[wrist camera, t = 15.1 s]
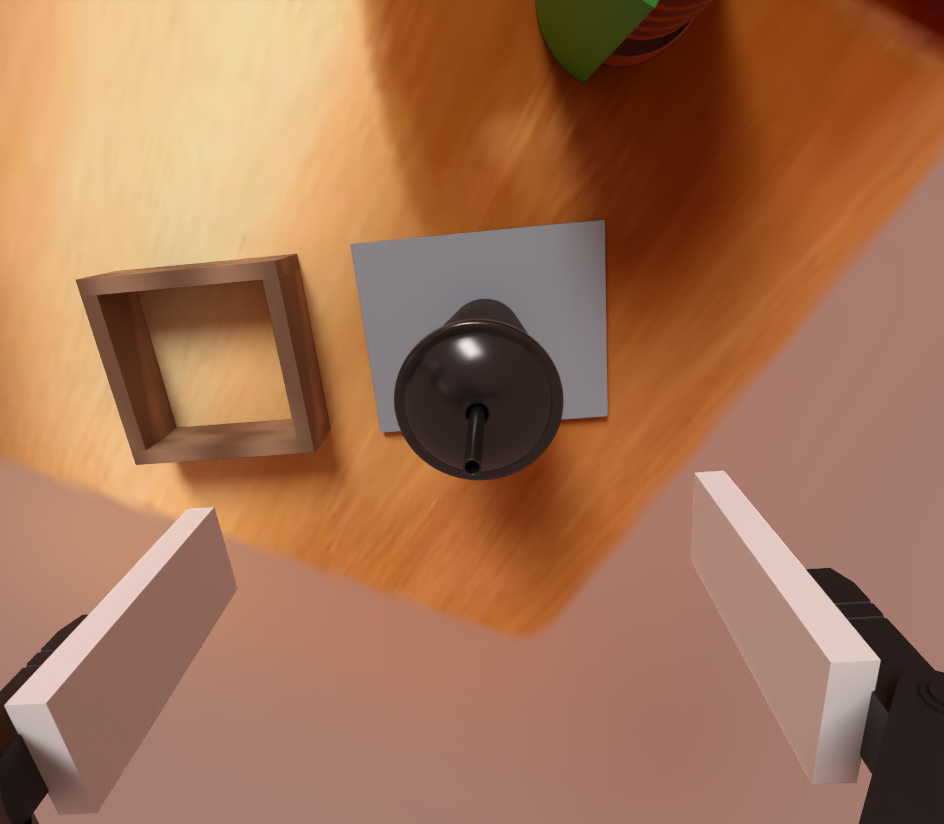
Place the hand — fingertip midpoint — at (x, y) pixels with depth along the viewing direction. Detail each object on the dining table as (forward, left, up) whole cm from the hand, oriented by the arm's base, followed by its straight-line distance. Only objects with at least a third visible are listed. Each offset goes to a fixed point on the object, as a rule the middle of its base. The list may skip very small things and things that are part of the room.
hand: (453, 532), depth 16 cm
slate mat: (0, 0, -25) cm, 25 cm away
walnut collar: (-18, 0, -25) cm, 31 cm away
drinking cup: (0, 0, -25) cm, 25 cm away
